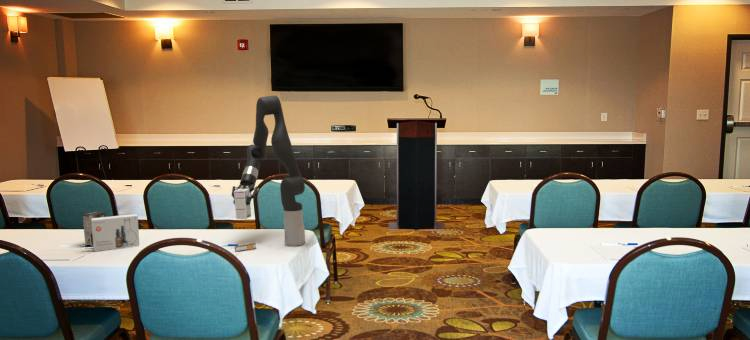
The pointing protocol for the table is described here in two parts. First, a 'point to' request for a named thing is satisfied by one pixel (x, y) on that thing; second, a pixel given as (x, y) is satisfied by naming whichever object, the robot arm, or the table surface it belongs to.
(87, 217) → the coffee box
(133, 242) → the skincare box
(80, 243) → the table surface
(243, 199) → the syrup box
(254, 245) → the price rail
